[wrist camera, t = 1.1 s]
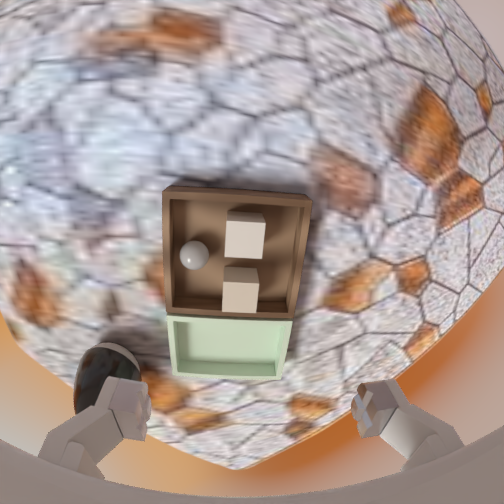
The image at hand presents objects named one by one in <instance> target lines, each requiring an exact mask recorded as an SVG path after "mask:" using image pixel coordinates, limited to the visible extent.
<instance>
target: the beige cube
mask: <svg viewBox="0 0 504 504" xmlns="http://www.w3.org/2000/svg"><path fill="white" fill-rule="evenodd" d="M258 290H259V279H258V273H257V268H243V267H225V266H224V278H223V299H222V312H238V313H256V309H257V300H258Z"/></svg>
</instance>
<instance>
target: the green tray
mask: <svg viewBox="0 0 504 504" xmlns="http://www.w3.org/2000/svg"><path fill="white" fill-rule="evenodd" d="M166 316H167V327H168V338H169V348H170V357H171V365H172V374H173V375H175V376H186V377H199V378H215V379H242V380H281V376H282V371H283V367H284V362H285V357H286V353H287V348H288V343H289V338H290V333H291V328H292V323H293V320H292V318H261V317H234V316H214V315H198V314H183V313H170V312H167V315H166Z"/></svg>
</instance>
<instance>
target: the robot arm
mask: <svg viewBox="0 0 504 504" xmlns="http://www.w3.org/2000/svg"><path fill="white" fill-rule="evenodd" d="M357 391H358V394H357V395H356V396H355V397H354V398H353V400H352V403H351V412H352V415H353V418H354V419H355V420H357V421H358V425H357V428H358V431H359V433H360V435H361V438H366V437H372V436H378V435H380V437H382V439H384V440H385V441H386V442H387V443H388V444H390V445H391V446H392V447H393V448H394V449H396V450H397V451H398V452H399V453H400V454H402V455H403V456H404V457H405V458H407V459H408V461H407V462H406V463H405V464H404V465H403V466H402V468H401V469H400V470H401V472H399V473H396V474H392V475H389V476H386V477H382V478H379V479H375V480H371V481H367V482H363V483H358V484H354V485H349V486H344V487H340V488H334V489H328V490H323V491H316V492H308V493H300V494H291V495H279V496H264V497H263V496H261V497H216V496H215V497H214V496H198V495H187V494H177V493H169V492H162V491H155V490H149V489H143V488H138V487H133V486H128V485H124V484H119V483H115V482H111V481H106V480H104V479H105V477H104V475H103V474H102V473H101V471H100V470H99V469H98V467H97V466H96V464H97V463H98V462H100V461H101V460H102V459H103V458H104V457H105V456H106V455H107V454H108V453H109V452H110V451H111V450H113V449H114V448H115V447H116V446H117V445H118V444H119V443H120V442H121V441H122V440H123V438H127V439H133V440H140V441H145V437H146V433H147V425H146V422H147V421H148V420H149V419H150V415H151V399H150V396H149V395H147V392H148V386H147V383H145V382H139V381H133V380H128V379H122V378H116V377H111V376H109V377H108V378H107V379H106V380H105V383H104V385H103V387H102V389H101V392H100V394H99V396H98V399H97V401H96V404H95V406H89V407H88V408H86V409H85V410H83V411H82V412H80V413H79V414H77V415H75V416H74V417H72V418H71V419H69V420H68V421H66V422H64V423H63V424H61V425H60V426H58V427H56V428H55V429H53V430H51V431H50V432H48V434H47V437H46V439H45V441H44V443H43V446H42V448H41V450H40V453H39V455H38V457H36V456H34V455H32V454H29V453H27V452H25V451H23V450H21V449H19V448H17V447H14V446H13V445H11V444H9V443H7V442H5V441H3V440H1V439H0V504H504V426H502V427H500V428H499V429H497V430H495V431H493V432H491V433H490V434H488V435H486V436H484V437H482V438H481V439H478V440H477V441H475V442H473V443H471V444H469V445H467V446H464V444H463V443H462V441H461V439H460V437H459V436H458V434H457V433H456V431H455V429H454V428H453V427H452V426H451V425H449V424H447V423H445V422H444V421H442V420H440V419H438V418H436V417H435V416H433V415H431V414H429V413H428V412H426V411H424V410H422V409H421V408H419V407H417V406H415V405H414V404H411V405H410V403H409V402H408V400H407V398H406V397H405V395H404V394H403V392H402V390H401V388H400V387H399V385H398V383H397V382H396V380H394V379H388V380H382V381H374V382H367V383H361V384H360V385H359V386H358V389H357Z"/></svg>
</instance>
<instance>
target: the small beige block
mask: <svg viewBox="0 0 504 504" xmlns="http://www.w3.org/2000/svg"><path fill="white" fill-rule="evenodd" d="M265 225H266V223H265V220H264V217H263V214H262V213H251V212H236V211H227V222H226V239H225V257H235V258H254V259H262V253H263V244H264V234H265Z"/></svg>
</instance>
